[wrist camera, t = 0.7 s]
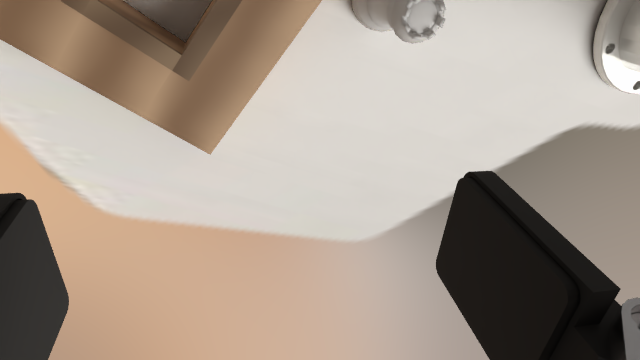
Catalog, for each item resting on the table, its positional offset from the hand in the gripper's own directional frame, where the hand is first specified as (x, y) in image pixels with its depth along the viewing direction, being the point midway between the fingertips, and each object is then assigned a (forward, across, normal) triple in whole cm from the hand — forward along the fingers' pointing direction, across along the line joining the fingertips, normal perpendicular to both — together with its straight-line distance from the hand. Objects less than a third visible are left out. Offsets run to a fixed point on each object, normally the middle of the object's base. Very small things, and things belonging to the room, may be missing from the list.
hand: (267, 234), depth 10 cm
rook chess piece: (+24, -10, -2) cm, 26 cm away
